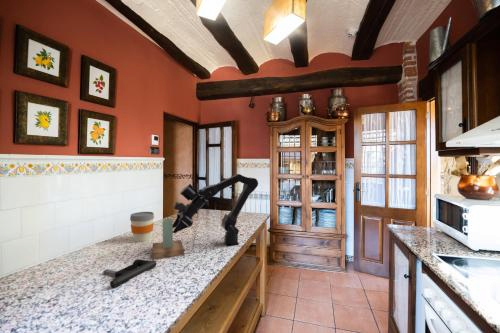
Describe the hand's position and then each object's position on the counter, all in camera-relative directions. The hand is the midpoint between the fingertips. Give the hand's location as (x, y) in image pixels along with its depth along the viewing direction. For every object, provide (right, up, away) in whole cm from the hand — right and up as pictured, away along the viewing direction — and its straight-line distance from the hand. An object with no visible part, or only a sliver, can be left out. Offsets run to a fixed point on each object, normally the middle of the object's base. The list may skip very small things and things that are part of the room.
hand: (172, 230), depth 120 cm
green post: (-2, -8, -1) cm, 8 cm away
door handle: (-11, -12, -23) cm, 28 cm away
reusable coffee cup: (-23, -11, +18) cm, 31 cm away
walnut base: (-2, -11, -1) cm, 11 cm away
